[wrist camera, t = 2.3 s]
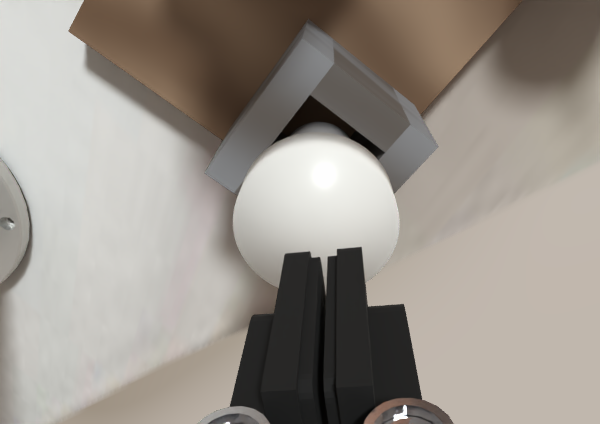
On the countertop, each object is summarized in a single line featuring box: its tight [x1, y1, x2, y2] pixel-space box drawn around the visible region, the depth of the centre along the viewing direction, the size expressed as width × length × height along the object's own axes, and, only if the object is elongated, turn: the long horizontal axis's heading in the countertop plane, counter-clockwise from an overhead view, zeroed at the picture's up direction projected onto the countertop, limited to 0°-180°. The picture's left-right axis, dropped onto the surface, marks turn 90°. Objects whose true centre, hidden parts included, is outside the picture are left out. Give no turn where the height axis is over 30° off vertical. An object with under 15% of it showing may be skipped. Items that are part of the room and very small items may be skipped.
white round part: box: [233, 122, 400, 292], centre depth 17 cm, size 5×5×6 cm
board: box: [69, 0, 523, 196], centre depth 21 cm, size 16×16×8 cm
